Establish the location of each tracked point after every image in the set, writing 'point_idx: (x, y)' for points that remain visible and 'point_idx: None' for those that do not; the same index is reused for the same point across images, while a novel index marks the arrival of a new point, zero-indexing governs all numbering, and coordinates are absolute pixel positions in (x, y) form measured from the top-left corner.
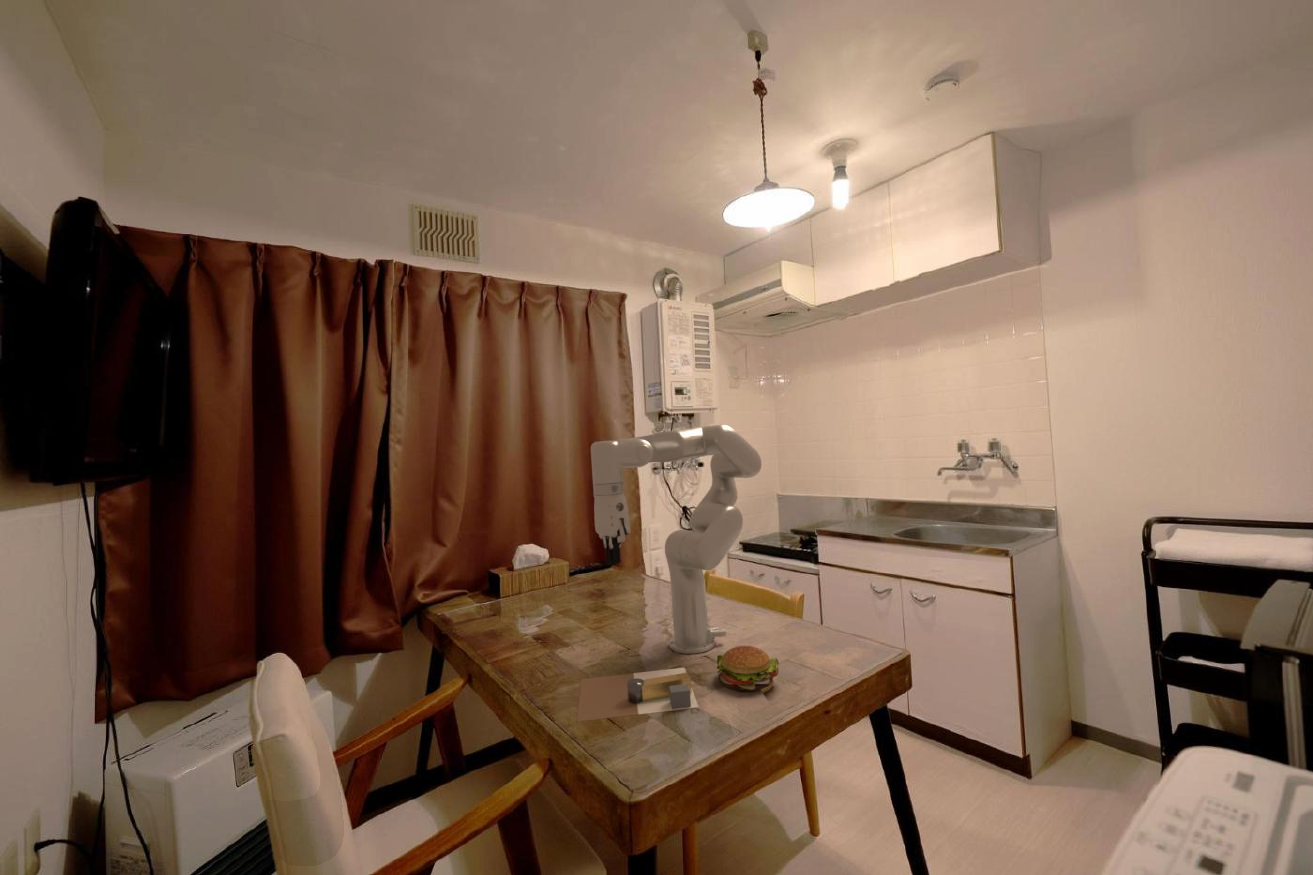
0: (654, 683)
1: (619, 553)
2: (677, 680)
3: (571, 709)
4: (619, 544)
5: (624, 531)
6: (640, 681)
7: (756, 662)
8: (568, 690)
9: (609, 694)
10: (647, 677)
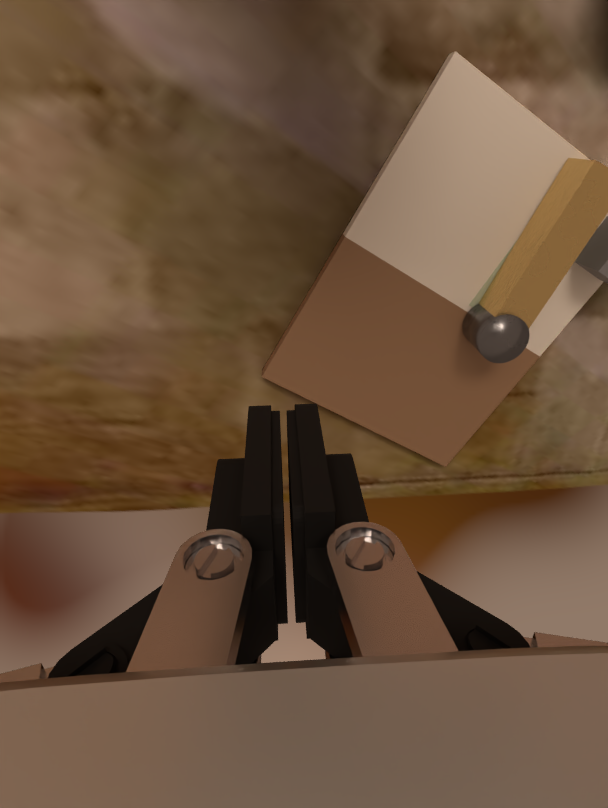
0: (547, 294)
1: (324, 461)
2: (597, 225)
3: (363, 439)
4: (442, 595)
5: (534, 714)
6: (513, 326)
7: None
8: None
9: (401, 360)
10: (406, 218)
